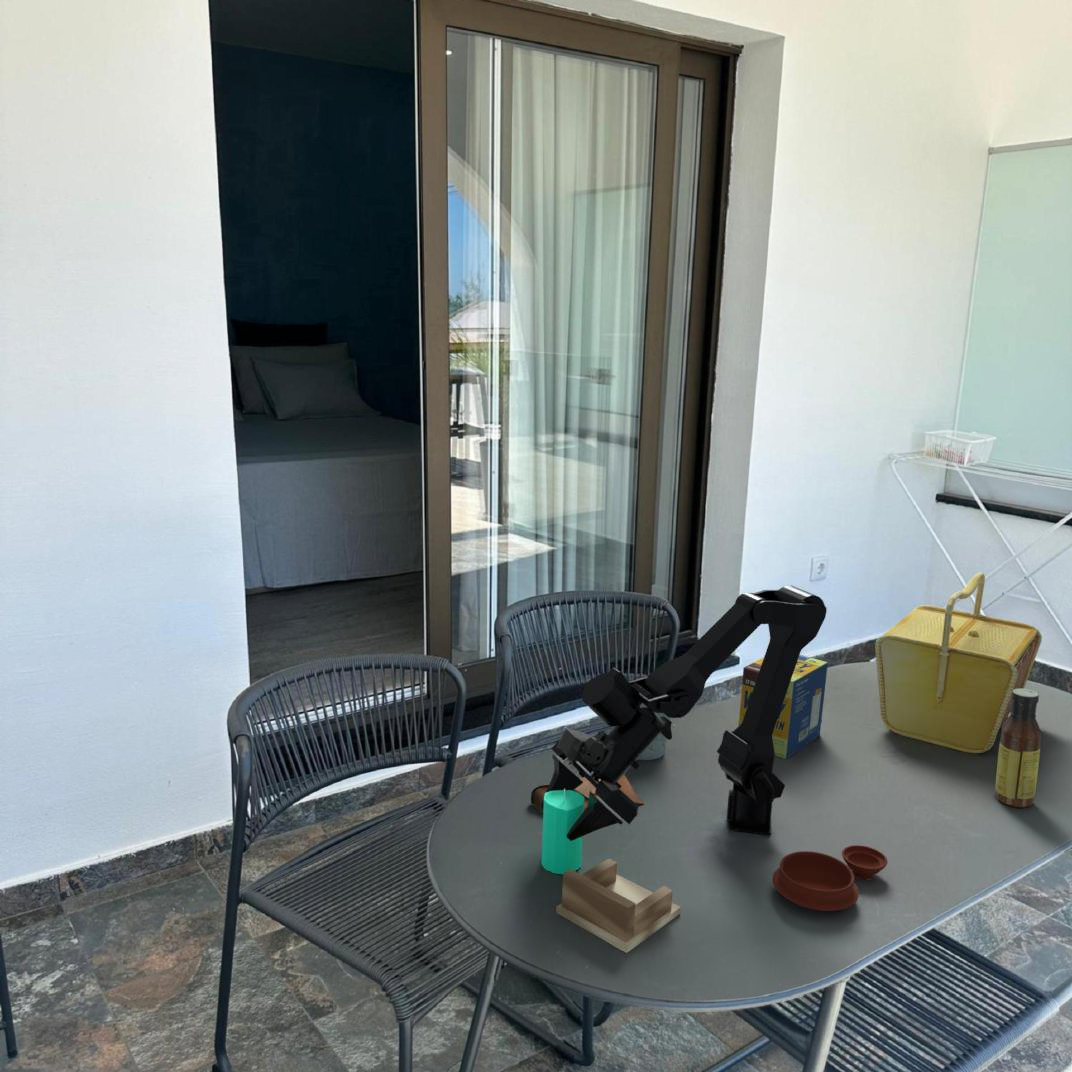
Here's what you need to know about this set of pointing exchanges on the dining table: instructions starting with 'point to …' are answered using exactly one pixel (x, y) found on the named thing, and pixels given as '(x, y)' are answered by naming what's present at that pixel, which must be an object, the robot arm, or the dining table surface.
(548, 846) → the candle
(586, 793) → the sunglasses case
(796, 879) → the pottery
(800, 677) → the protein box
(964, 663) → the picnic basket
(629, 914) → the dock
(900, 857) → the dining table surface
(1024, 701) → the sauce bottle
